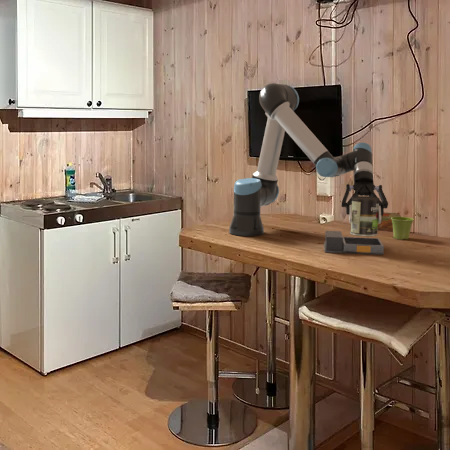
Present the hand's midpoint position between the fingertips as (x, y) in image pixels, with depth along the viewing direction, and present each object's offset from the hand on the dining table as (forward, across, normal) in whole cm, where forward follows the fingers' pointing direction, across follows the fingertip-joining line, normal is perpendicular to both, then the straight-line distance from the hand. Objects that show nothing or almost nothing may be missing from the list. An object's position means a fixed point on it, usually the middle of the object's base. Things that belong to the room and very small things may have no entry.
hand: (365, 221), depth 220 cm
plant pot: (-13, -18, -30) cm, 38 cm away
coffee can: (+2, 0, -6) cm, 6 cm away
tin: (-27, -14, -44) cm, 53 cm away
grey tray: (+6, +4, -10) cm, 13 cm away
